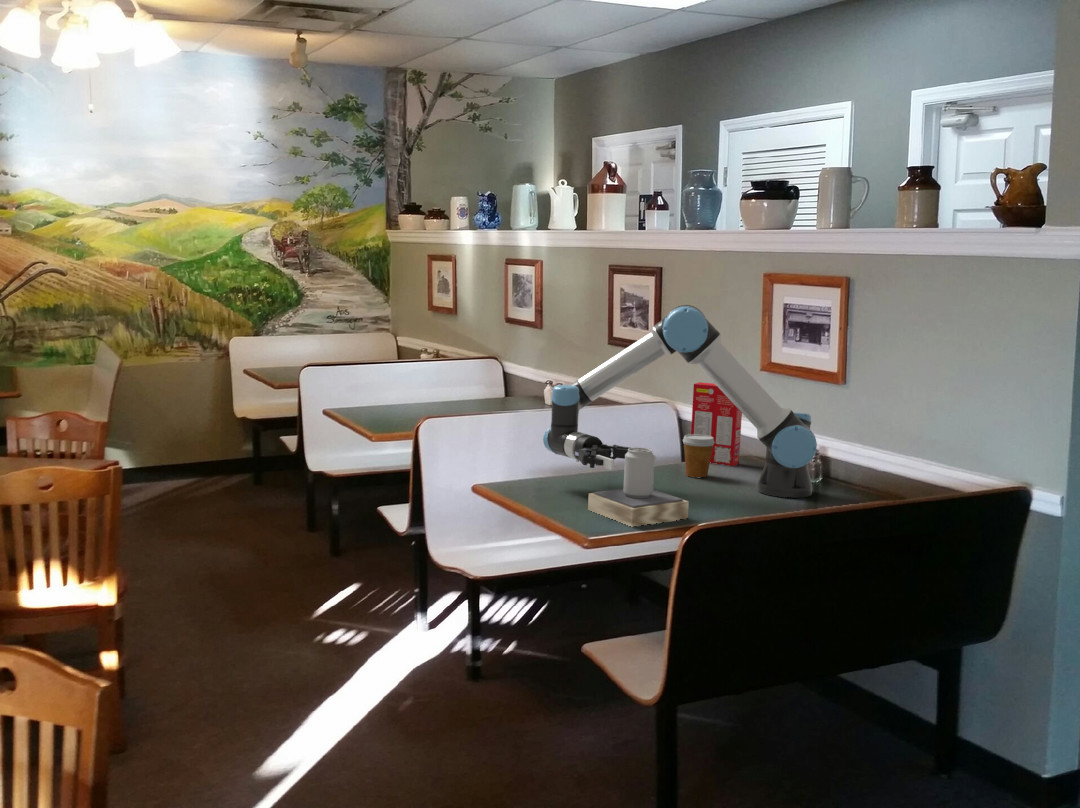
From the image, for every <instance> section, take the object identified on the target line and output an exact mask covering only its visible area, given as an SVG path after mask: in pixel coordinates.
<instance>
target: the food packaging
mask: <svg viewBox="0 0 1080 808" xmlns="http://www.w3.org/2000/svg"><path fill="white" fill-rule="evenodd" d="M691 407H692V408H691V409H692V410H691V425H690V427H691V428H690V430H691V431H690V434H699V435H708V436H712V437H713V439H714V442H715V443H714V445H713V447H712V453H711V458H710V462H711V463H710V464H712V463H717V464H716V465H720V464H724V465H723V466H727V465H730V466H729V467H735V466H737V465H738V463H740V448H741V435H742V434H741V432H742V416H743V413H742V412H741V411H740V410H739V409H738V408H737V407H736V406H735V405H734V404H733V403H732V401H731V400H730V399H729V398H728V397H727V396H726V395H725V394H724V393H723V392H722V391H721V390H720V389H719V387H718V386H717V385H716V384H715V383H710V382H701V381H700V382H699V381H698V382H696V383H693V392H692V406H691Z"/></svg>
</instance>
